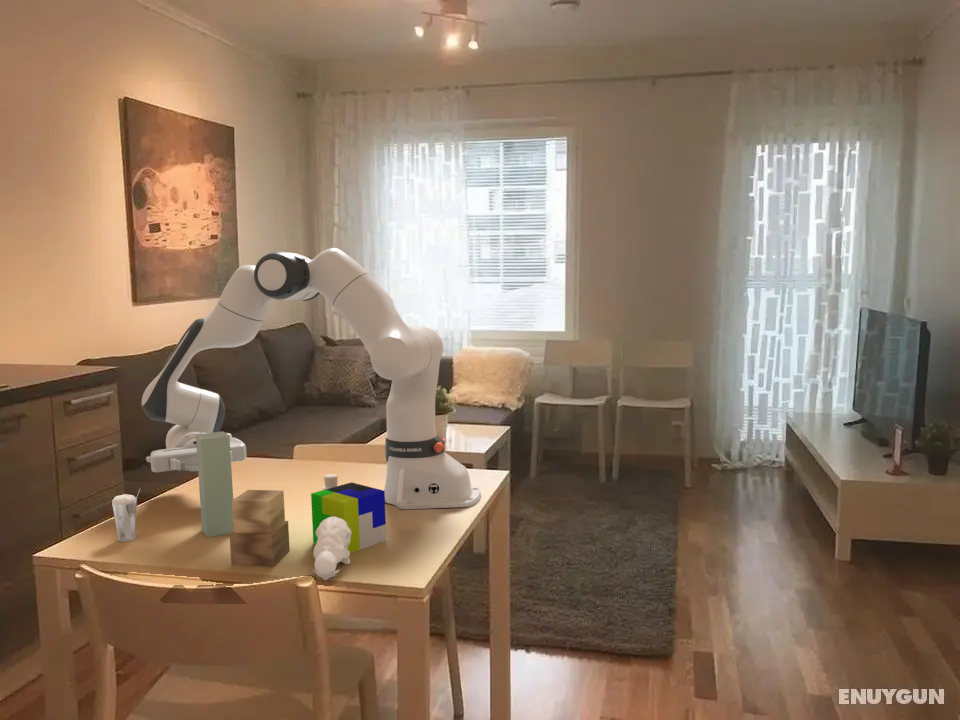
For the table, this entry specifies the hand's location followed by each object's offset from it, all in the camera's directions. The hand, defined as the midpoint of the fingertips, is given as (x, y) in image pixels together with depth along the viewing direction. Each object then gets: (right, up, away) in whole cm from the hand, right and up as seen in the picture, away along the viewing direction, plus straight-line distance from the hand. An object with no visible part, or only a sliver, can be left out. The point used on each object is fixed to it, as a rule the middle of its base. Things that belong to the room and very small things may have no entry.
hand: (205, 463), depth 177 cm
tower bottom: (+18, -15, -24) cm, 33 cm away
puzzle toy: (+34, -14, -16) cm, 40 cm away
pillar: (+5, -13, -8) cm, 16 cm away
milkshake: (-11, -14, -12) cm, 21 cm away
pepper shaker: (+29, -13, -7) cm, 32 cm away
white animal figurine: (+33, -15, -31) cm, 47 cm away
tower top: (+18, -9, -24) cm, 32 cm away
